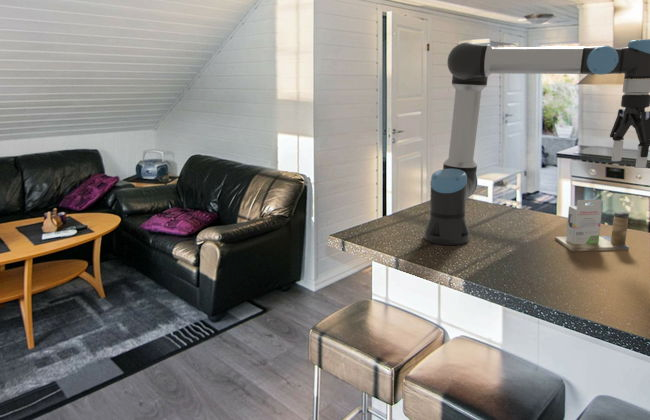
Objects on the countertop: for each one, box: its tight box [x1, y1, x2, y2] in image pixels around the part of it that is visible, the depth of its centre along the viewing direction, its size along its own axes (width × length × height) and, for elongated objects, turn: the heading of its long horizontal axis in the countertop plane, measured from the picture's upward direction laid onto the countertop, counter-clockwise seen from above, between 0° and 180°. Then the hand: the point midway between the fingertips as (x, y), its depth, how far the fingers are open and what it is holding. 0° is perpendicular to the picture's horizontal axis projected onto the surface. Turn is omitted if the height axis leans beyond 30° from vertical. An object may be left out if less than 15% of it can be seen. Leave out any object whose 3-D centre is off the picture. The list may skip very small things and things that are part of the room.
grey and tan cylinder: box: [611, 211, 630, 245], centre depth 165 cm, size 4×4×10 cm
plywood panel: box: [554, 235, 630, 252], centre depth 168 cm, size 18×12×1 cm, turn 89°
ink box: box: [565, 198, 603, 244], centre depth 166 cm, size 9×5×15 cm, turn 91°
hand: (627, 164), depth 159 cm, fingers open, 13 cm apart
